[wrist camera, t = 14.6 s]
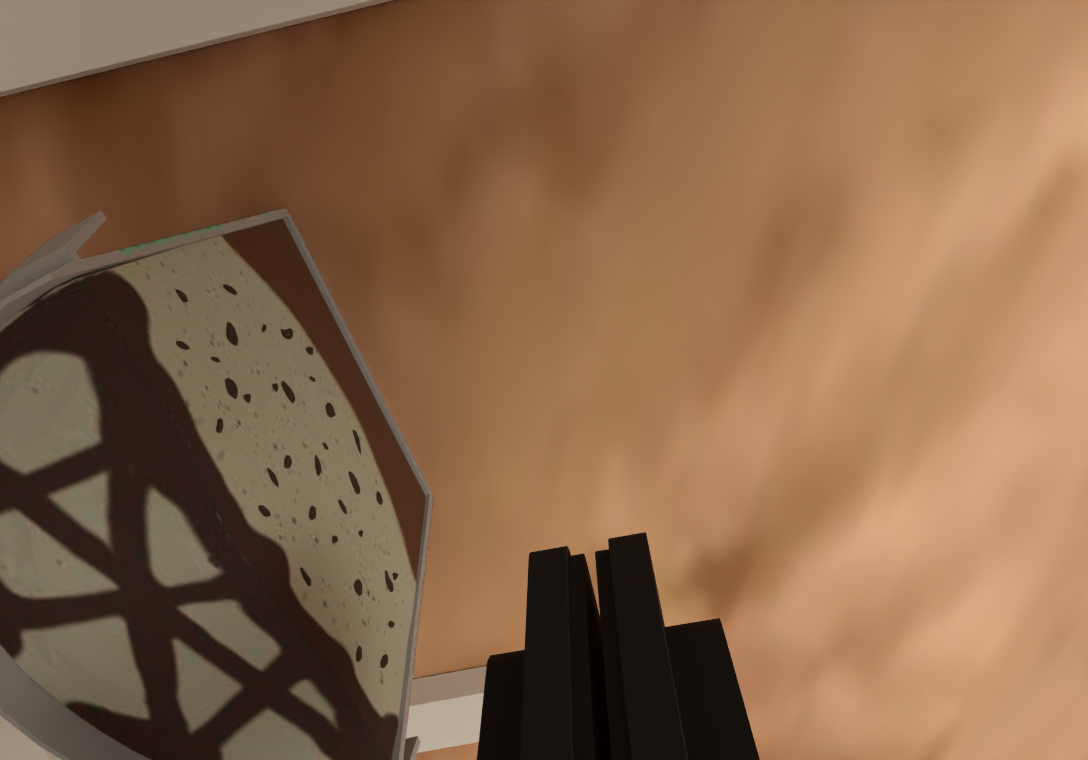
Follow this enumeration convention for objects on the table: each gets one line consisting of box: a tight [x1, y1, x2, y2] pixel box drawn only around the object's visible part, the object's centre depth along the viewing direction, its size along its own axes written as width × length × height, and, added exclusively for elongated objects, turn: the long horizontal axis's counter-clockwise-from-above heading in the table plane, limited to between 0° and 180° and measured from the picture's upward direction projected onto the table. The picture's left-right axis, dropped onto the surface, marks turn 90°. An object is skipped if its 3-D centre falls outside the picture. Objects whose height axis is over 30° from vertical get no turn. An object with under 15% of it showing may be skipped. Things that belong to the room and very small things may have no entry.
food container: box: [0, 208, 434, 760], centre depth 18 cm, size 12×6×10 cm, turn 21°
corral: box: [0, 0, 487, 760], centre depth 23 cm, size 20×24×1 cm
